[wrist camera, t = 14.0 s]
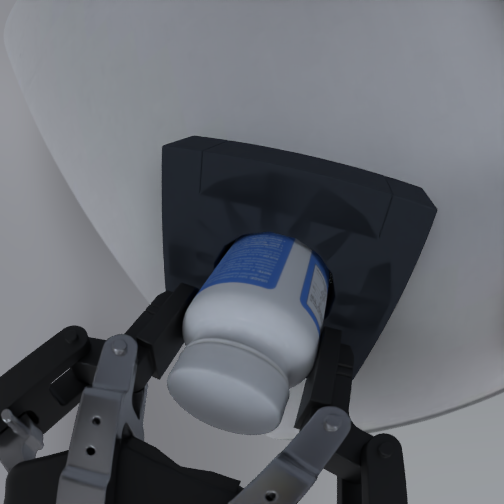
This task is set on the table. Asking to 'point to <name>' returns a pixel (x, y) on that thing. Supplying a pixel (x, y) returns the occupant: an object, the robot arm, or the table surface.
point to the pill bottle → (251, 334)
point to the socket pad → (296, 224)
